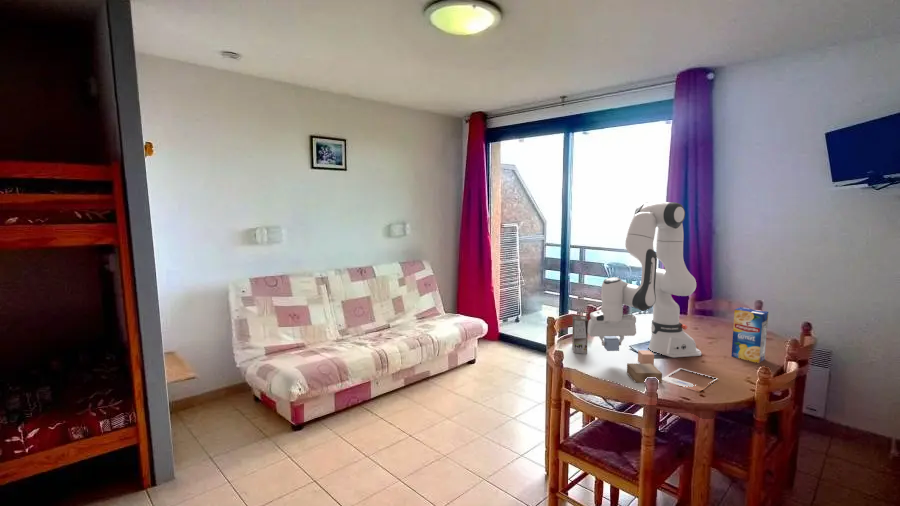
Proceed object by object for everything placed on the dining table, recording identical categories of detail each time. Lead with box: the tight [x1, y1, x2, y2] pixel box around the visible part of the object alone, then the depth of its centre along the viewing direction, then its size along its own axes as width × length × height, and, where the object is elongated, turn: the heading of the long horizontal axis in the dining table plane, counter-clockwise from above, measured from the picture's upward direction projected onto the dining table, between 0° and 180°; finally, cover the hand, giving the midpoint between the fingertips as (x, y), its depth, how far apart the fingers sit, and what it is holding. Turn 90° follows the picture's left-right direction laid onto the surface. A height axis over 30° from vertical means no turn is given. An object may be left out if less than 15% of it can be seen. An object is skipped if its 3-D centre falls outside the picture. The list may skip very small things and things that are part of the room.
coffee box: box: [571, 315, 589, 355], centre depth 206 cm, size 9×6×16 cm
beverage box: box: [731, 306, 769, 364], centre depth 193 cm, size 7×11×22 cm, turn 37°
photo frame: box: [662, 367, 719, 387], centre depth 172 cm, size 15×1×18 cm
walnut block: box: [626, 362, 663, 384], centre depth 174 cm, size 10×10×4 cm
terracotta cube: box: [637, 349, 655, 366], centre depth 190 cm, size 5×5×5 cm
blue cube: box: [603, 336, 620, 352], centre depth 189 cm, size 5×5×5 cm
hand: (611, 345), depth 189 cm, fingers closed on blue cube, 5 cm apart
